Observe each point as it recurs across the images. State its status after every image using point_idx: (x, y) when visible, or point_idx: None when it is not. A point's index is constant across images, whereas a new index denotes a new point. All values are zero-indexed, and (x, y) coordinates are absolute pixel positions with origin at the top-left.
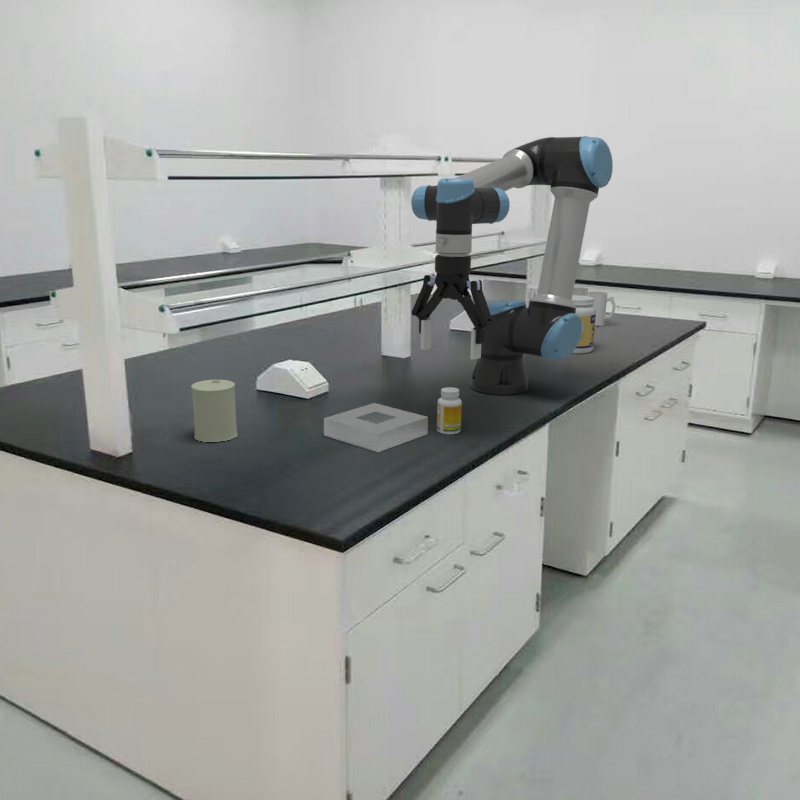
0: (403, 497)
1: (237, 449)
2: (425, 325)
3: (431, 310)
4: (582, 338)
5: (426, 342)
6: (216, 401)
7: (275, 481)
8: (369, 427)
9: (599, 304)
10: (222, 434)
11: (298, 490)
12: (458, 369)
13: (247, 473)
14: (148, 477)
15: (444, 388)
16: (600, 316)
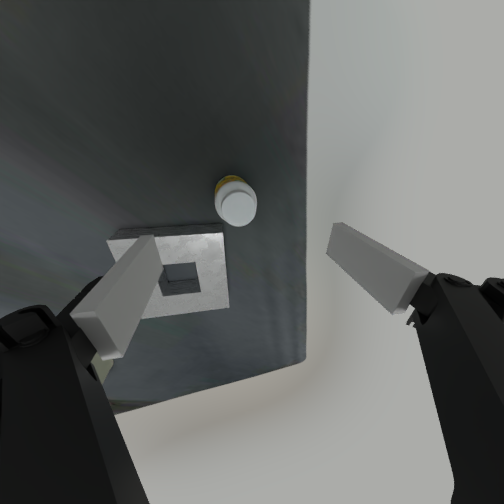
0: (303, 324)
1: (141, 359)
2: (129, 325)
3: (95, 398)
4: None
5: (152, 268)
6: None
7: (222, 359)
8: (206, 303)
9: None
10: (109, 368)
11: (245, 356)
12: None
13: (197, 366)
14: (163, 397)
15: (225, 212)
16: None
